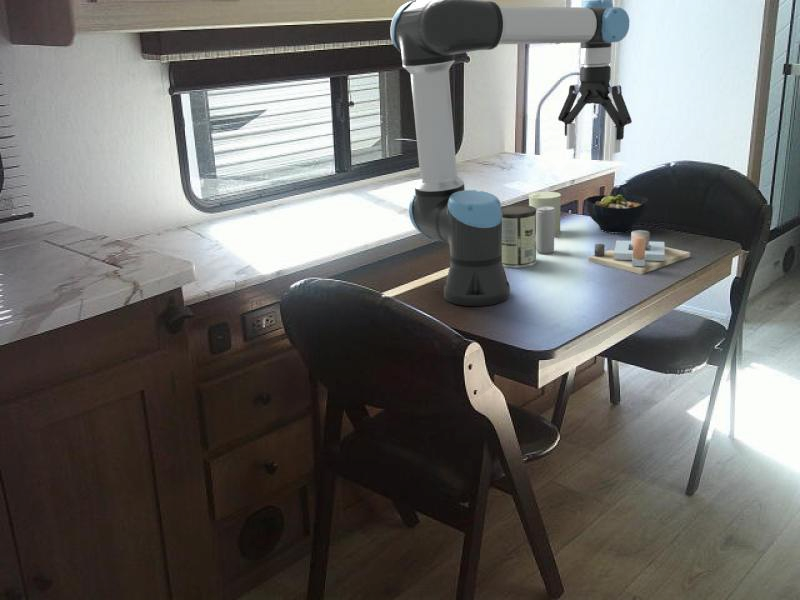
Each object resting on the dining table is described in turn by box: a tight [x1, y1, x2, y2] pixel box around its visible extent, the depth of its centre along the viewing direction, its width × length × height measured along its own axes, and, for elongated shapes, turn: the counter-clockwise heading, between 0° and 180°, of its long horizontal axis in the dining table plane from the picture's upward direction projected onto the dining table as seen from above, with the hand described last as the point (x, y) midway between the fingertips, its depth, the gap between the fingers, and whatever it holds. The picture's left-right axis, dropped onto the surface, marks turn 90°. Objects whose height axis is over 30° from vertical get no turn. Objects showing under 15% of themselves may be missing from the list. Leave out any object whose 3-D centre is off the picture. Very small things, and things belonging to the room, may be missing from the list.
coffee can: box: [501, 204, 537, 269], centre depth 204 cm, size 10×10×14 cm
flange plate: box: [614, 237, 665, 266], centre depth 199 cm, size 17×12×7 cm
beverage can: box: [536, 206, 555, 255], centre depth 211 cm, size 5×5×12 cm
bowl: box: [585, 194, 649, 234], centre depth 230 cm, size 17×17×10 cm
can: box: [528, 191, 562, 238], centre depth 229 cm, size 9×9×12 cm
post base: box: [588, 229, 691, 275], centre depth 202 cm, size 20×16×7 cm
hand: (592, 150), depth 206 cm, fingers open, 13 cm apart
